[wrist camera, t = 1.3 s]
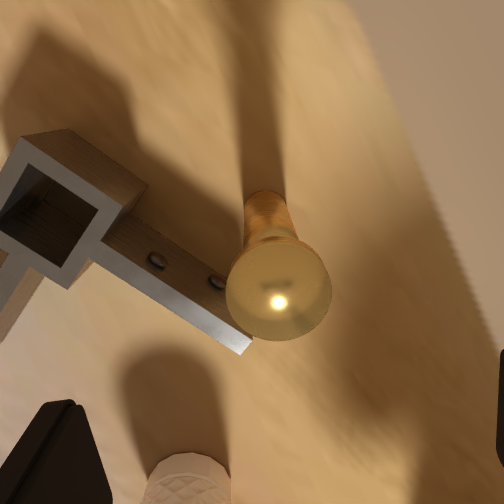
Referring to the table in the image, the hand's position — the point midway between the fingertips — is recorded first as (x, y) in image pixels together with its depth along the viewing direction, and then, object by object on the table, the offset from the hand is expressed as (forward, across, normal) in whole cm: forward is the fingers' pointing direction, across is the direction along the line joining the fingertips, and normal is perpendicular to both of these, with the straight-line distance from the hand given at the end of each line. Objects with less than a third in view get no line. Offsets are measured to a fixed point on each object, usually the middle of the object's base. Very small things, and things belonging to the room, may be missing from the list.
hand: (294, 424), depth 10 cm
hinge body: (+20, +11, +4) cm, 23 cm away
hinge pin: (+20, 0, 0) cm, 20 cm away
